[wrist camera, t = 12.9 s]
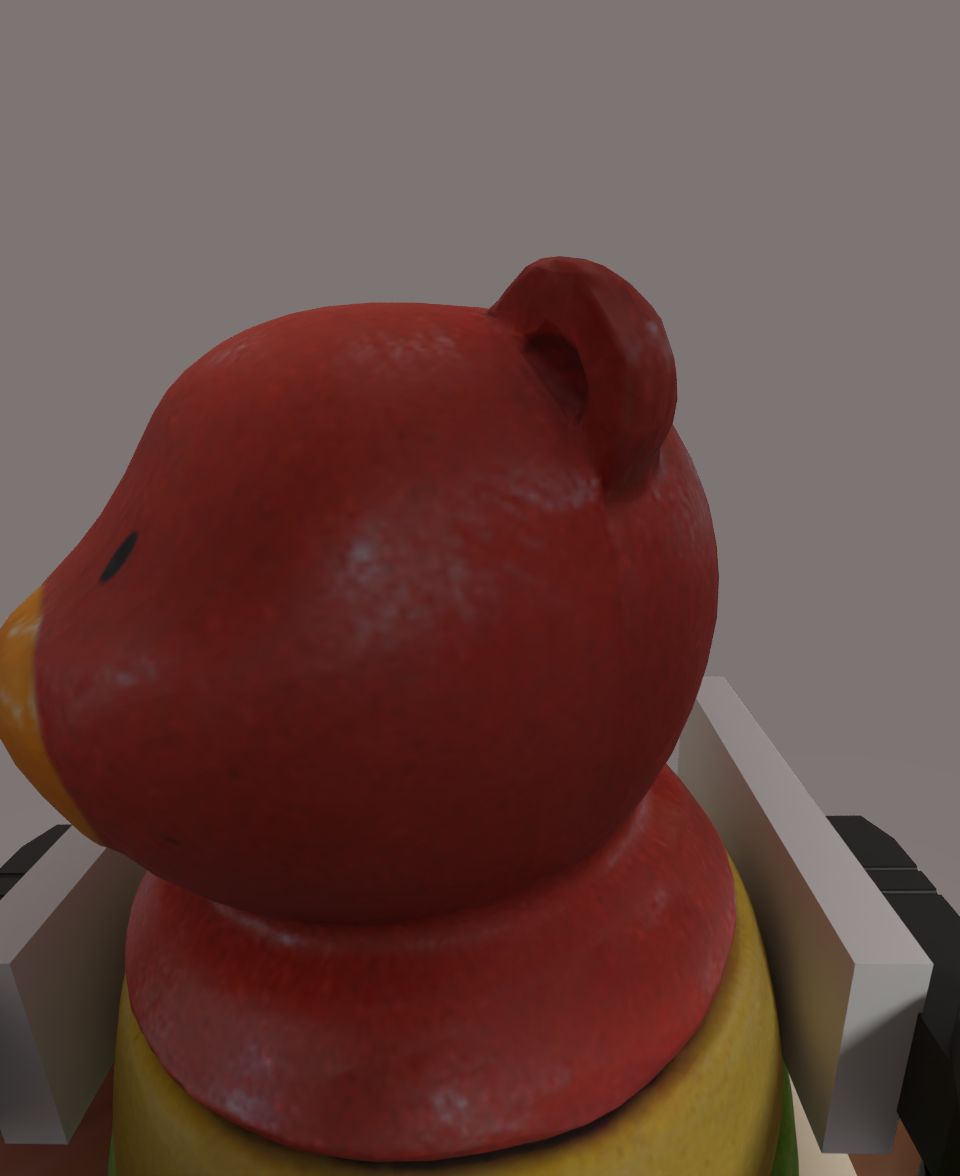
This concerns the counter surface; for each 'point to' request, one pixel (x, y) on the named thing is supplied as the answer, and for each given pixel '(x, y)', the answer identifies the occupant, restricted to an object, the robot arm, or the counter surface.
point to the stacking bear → (411, 756)
